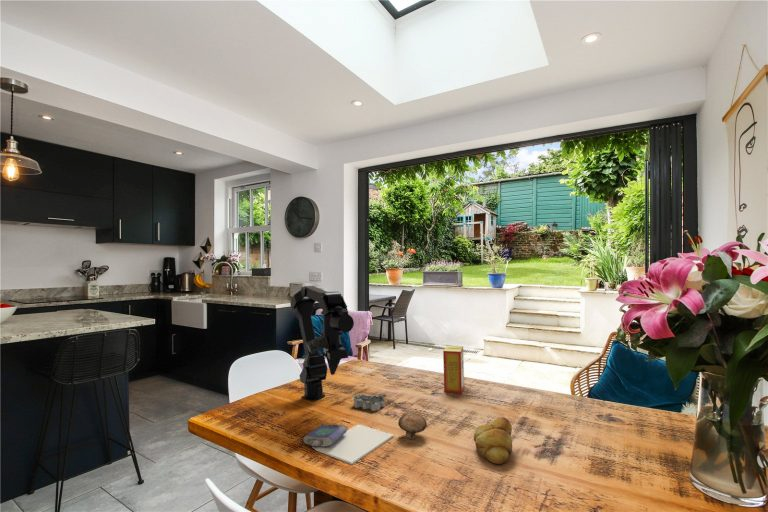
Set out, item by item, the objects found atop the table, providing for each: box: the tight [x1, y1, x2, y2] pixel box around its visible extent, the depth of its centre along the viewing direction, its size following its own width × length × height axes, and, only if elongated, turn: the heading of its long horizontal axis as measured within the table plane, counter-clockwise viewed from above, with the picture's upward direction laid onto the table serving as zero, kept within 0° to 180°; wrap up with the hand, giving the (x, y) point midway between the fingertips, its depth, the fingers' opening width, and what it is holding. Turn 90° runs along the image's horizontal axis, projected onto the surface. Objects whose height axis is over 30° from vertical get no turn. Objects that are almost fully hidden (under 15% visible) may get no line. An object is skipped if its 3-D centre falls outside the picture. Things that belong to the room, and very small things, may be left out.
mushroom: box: [397, 412, 428, 440], centre depth 107 cm, size 8×8×6 cm
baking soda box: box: [442, 345, 465, 394], centre depth 147 cm, size 10×6×16 cm
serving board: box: [314, 424, 395, 465], centre depth 103 cm, size 13×18×1 cm
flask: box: [303, 423, 348, 450], centre depth 104 cm, size 9×3×11 cm
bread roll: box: [473, 416, 513, 465], centre depth 96 cm, size 13×10×8 cm
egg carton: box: [352, 393, 387, 412], centre depth 131 cm, size 11×8×4 cm
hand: (332, 374), depth 128 cm, fingers closed
